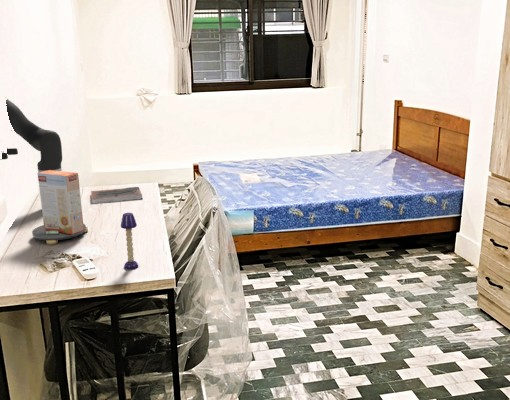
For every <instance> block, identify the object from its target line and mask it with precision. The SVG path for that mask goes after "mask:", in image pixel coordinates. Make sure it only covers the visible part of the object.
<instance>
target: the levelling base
mask: <svg viewBox="0 0 510 400" xmlns="http://www.w3.org/2000/svg"><path fill="white" fill-rule="evenodd" d="M83 226H84V230H83V231H81V232H78V233H75V234H72V235H71V234H66V233H61V232H59V231H49V230H45V229H44V224H43V225H40V226H37V227H35V228H34V229H32V231H31V232H32V233H31V234H32V237H33V238H34V239H36V240H41V241H46V245H47V246H56V245H58V244H59V242H58V240H59V241H61V240H65V239H66V240H67V239H71V238H74V237H77V236H80V235H84V234H87V233H88V232H89V229H88V228H89V227H88V226H87V225H86V224H85V223H83Z"/></svg>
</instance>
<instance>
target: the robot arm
mask: <svg viewBox="0 0 510 400" xmlns="http://www.w3.org/2000/svg"><path fill="white" fill-rule="evenodd" d="M6 104H7V105H6V106H7V112H8V116H9V120H10V123H11V125H12V127H13V129H14V131H15V132H16V133H15V132H14V133H15V134H16V135H18V136H20V137H21V138H22V139H23V140H24V141H25V142H27V143H28V144H29V145H30V146H31V147H32V148H34V149H35V150H36V151H38V152H40V161H38V162H37V171H38V172H37V174H38V173H39V172H43V171H47V170H54V171H63V170H62V162H63V149H62V142H61V141H62V140H61V137H60V135H59V134H58V133H57V132H56V131H55V130H49V129H44V128H42V127H41V126H40V127H39V125H37V124H35V123H33V122H32V121H31V120H29V118H27V116H25V114H24V113H23V112H22V110H21V109H20V108H19V107H18V106H17V105H16V104H15V103H14V102H12V101H11V100H10V99H8V98H7V100H6ZM7 154H8V155H7ZM18 154H19V151H18V148H16V147H15V148H13V147H12V148H7V153H4V152H2V159H1V160H7V159H8V158H9V156H14V155H16V156H17V155H18Z"/></svg>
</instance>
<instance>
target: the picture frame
mask: <svg viewBox="0 0 510 400" xmlns="http://www.w3.org/2000/svg"><path fill="white" fill-rule="evenodd" d="M90 195H91V204H93V205H94V204H103V203H105V202H106V203H114V202H115V201H116V202H124V201H123V200H127V201H133V200H132V199H137V200H142V199H143V193H142V191H141V189H140V187H139V186H132V187H130V186H129V187H124V188H123V187H122V188H115V189H114V188H113V189H101V190H91V191H90ZM141 198H142V199H141ZM106 203H105V204H106Z"/></svg>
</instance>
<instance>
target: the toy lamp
mask: <svg viewBox="0 0 510 400" xmlns="http://www.w3.org/2000/svg"><path fill="white" fill-rule="evenodd" d="M120 228H121V229H124V230H125V236H126V239H125V240H126V247H127V248H126V250H127V254H126V255H127V261H126V262H125V263H124V266H123V268H124V269H125V270H134V269H135V270H136V269H137V268H138V267H139V264H138V262H137V261H136V260H135V258H134V246H133V244H134V243H133V233H132V231H133V229H134V228H137V221H136V219H135V215H134V214H133V213H132V212H125V213H122V218H121V222H120Z"/></svg>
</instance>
